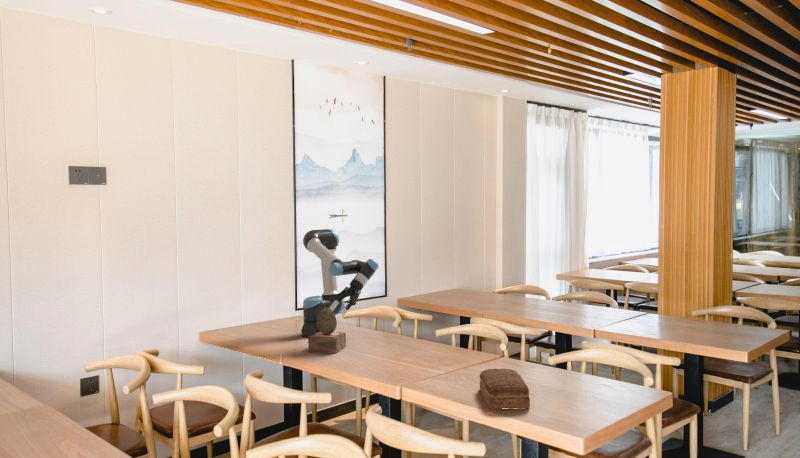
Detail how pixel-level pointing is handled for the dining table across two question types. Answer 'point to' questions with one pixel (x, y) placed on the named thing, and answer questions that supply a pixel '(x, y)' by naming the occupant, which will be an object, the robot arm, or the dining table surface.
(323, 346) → the pedestal
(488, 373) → the bread
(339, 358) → the dining table surface
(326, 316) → the decorative egg
